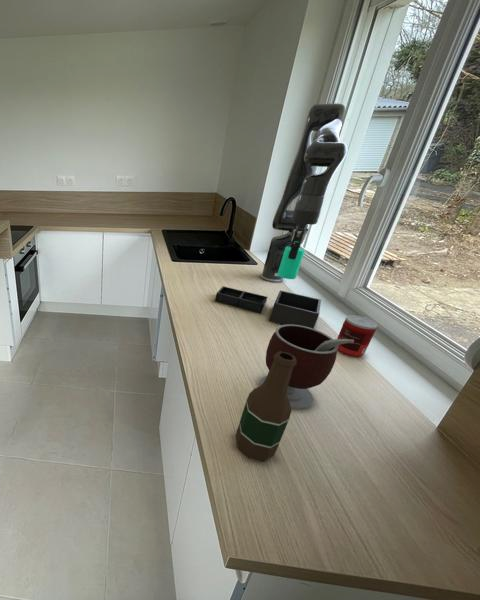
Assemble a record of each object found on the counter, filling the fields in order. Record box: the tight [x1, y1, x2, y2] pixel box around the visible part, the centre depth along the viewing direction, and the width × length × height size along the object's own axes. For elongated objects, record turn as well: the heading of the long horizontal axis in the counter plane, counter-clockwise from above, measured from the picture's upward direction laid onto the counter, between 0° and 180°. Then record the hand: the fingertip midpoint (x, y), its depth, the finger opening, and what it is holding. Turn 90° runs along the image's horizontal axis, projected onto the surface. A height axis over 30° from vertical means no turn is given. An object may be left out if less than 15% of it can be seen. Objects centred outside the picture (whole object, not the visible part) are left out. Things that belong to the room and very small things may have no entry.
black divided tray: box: [214, 285, 268, 315], centre depth 132 cm, size 9×18×4 cm, turn 53°
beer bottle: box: [235, 351, 297, 463], centre depth 64 cm, size 8×8×24 cm
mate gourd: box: [258, 324, 354, 410], centre depth 80 cm, size 16×14×20 cm
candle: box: [278, 246, 306, 280], centre depth 115 cm, size 6×6×12 cm
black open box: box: [268, 290, 322, 329], centre depth 120 cm, size 15×14×8 cm
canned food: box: [336, 314, 379, 358], centre depth 101 cm, size 8×8×11 cm
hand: (292, 256), depth 115 cm, fingers closed on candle, 6 cm apart
